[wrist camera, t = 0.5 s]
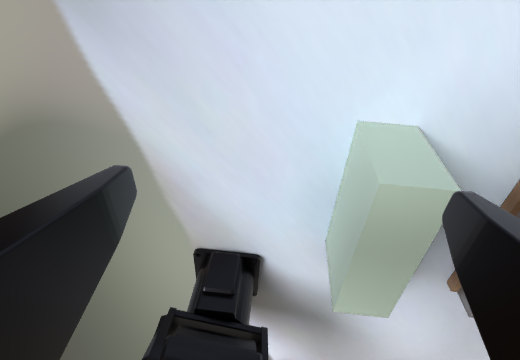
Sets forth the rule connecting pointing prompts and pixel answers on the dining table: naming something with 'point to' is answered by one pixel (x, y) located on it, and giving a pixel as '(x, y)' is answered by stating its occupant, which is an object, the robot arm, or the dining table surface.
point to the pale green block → (384, 216)
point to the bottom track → (515, 204)
